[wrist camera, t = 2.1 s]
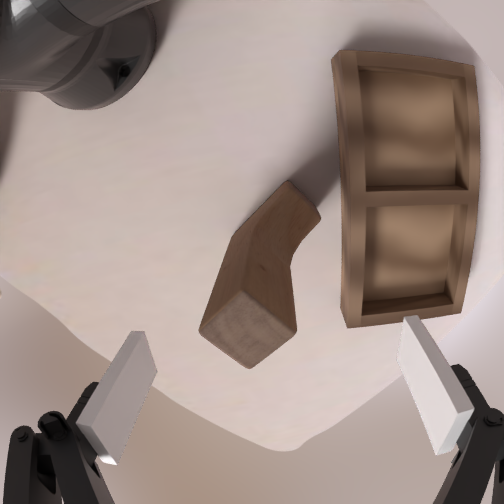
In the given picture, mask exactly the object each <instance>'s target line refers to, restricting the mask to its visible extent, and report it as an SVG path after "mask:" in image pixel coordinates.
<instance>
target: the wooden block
mask: <svg viewBox="0 0 504 504" xmlns="http://www.w3.org/2000/svg"><path fill="white" fill-rule="evenodd" d="M320 220H321V216H320V214H319V212H318V210H317V208H316V207H315V205H314V204H313V203H312V202H311V201H309V200H308V199H307V198H306V197H305V196H304V195H303V194H302V193H301V192H300V191H299V190H298V189H297V188H296V187H295V186H294V185H293V184H292V183H291V182H289V181H286V182H284V183H283V184H282V185H281V186H280V187H279V188H278V189H277V190H276V191H275V192H274V193H273V194H272V195H271V196H270V197H269V198H268V200H267V201H266V202H265V203H264V204H263V205H262V206H261V207H260V208H259V209H258V210H257V211H256V212H255V213H254V214H253V215H252V216H251V217H250V218H249V219H248V220H247V221H246V222H245V223H244V224H243V225H242V226H241V227H240V228H239V229H238V230H237V232H236V233H235V234H234V235H233V236H232V237H231V240H230V243H229V245H228V248H227V251H226V253H225V256H224V259H223V262H222V265H221V268H220V271H219V273H218V276H217V279H216V282H215V285H214V287H213V290H212V293H211V296H210V299H209V301H208V304H207V307H206V310H205V313H204V316H203V319H202V321H201V324H200V327H199V333H200V334H201V336H203V337H204V338H205V339H207V340H208V341H209V342H211V343H212V344H213V345H215V346H216V347H217V348H219V349H220V350H221V351H223V352H224V353H226V354H227V355H228V356H230V357H231V358H232V359H234V360H235V361H237V362H238V363H239V364H241V365H242V366H244V367H245V368H248V369H251V368H253V367H254V366H256V365H257V364H258V363H260V362H261V361H262V360H264V359H265V358H266V357H267V356H269V355H270V354H271V353H273V352H274V351H275V350H277V349H278V348H279V347H280V346H282V345H283V344H284V343H285V342H287V341H288V340H289V339H291V338H292V337H293V336H294V335H295V333H296V332H297V324H296V315H295V305H294V296H293V287H292V278H291V270H290V265H291V261H292V257H293V254H294V252H295V251H296V249H297V248H298V246H299V244H300V243H301V241H302V240H303V239H304V238H305V237H306V236H307V235H308V234H309V232H310V231H311V230H312V229H313V228H314V227H315V226H316V225H317V224H318V223H319V222H320Z"/></svg>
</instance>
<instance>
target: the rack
mask: <svg viewBox="0 0 504 504" xmlns="http://www.w3.org/2000/svg"><path fill="white" fill-rule="evenodd" d="M331 64H332V72H333V81H334V91H335V102H336V113H337V126H338V140H339V157H340V178H341V212H342V272H341V306H340V308H341V311H342V314H343V317H344V320H345V323H346V326H347V328H357V327H366V326H375V325H384V324H392V323H399V322H403V320H404V317H407V316H415V315H418V317H419V318H420V320H421V319H428V318H434V317H441V316H447V315H453V314H459V313H461V311H462V306H463V302H464V297H465V293H466V288H467V283H468V277H469V272H470V266H471V260H472V253H473V247H474V239H475V231H476V222H477V211H478V198H479V180H480V125H479V107H478V95H477V85H476V76H475V68H474V66H473V65H468V64H463V63H458V62H453V61H448V60H442V59H436V58H429V57H422V56H415V55H407V54H398V53H387V52H374V51H356V50H339V51H338V52H337V54H336V55H335V56H334V57H333V58H332V59H331Z"/></svg>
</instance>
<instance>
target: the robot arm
mask: <svg viewBox="0 0 504 504" xmlns="http://www.w3.org/2000/svg"><path fill="white" fill-rule="evenodd" d="M157 1H159V0H0V91H30V92H40V93H41V94H43V95H44V96H46V97H47V98H49V99H51V100H52V101H53V102H54V103H56V104H57V105H59V106H62V107H64V108H68V109H73V110H93V109H98V108H102V107H105V106H107V105H109V104H111V103H113V102H115V101H117V100H118V99H120V98H121V97H123V96H124V95H125V94H126V93H127V92H129V91H130V90H131V89H132V88H133V87H134V86H135V84H136V83H137V82H138V81H139V80H140V78H141V77H142V75H143V74H144V72H145V70H146V69H147V67H148V65H149V63H150V60H151V58H152V55H153V52H154V48H155V43H156V26H155V21H154V18H153V16H152V14H151V12H150V10H149V9H148V7H147V5H150V4H152V3H154V2H157ZM396 360H397V362H398V364H399V366H400V369H401V371H402V373H403V375H404V378H405V380H406V382H407V385H408V387H409V389H410V391H411V394H412V396H413V398H414V401H415V403H416V406H417V408H418V411H419V413H420V416H421V418H422V420H423V423H424V425H425V428H426V431H427V433H428V436H429V438H430V441H431V444H432V446H433V449H434V451H435V454H436V455H439V454H443V453H446V452H449V451H452V449H453V448H454V446H455V444H456V443H457V445H458V448H459V451H458V452H457V454H456V456H455V457H454V459H453V460H452V462H451V463H453V464H452V466H451V468H450V471H449V472H448V475H447V477H446V479H445V481H444V483H443V485H442V487H441V489H440V491H439V493H438V495H437V497H436V499H435V501H434V502H433V504H480V503H481V500H482V498H483V495H484V493H485V490H486V487H487V484H488V481H489V479H490V476H491V473H492V470H493V467H494V464H495V476H494V488H493V496H492V504H504V414H503V413H502V412H501V411H499V410H497V409H495V408H490V407H489V405H488V404H487V402H486V400H485V399H484V397H483V395H482V394H481V392H480V390H479V389H478V387H477V386H476V384H475V382H474V381H473V380H472V377H471V376H470V374H469V373H468V371H467V370H466V369H465V368H463V367H462V366H461V365H459V364H457V365H452V366H450V365H449V364H448V362H447V360H446V359H445V357H444V356H443V354H442V352H441V351H440V349H439V347H438V346H437V344H436V343H435V341H434V340H433V338H432V336H431V335H430V333H429V332H428V330H427V329H426V327H425V326H424V324H423V323H422V321H421V320H420V318H419V317H418V315H415V316H407V317H404V320H403V326H402V332H401V338H400V343H399V348H398V354H397V359H396ZM156 373H157V369H156V366H155V363H154V360H153V357H152V354H151V351H150V348H149V345H148V341H147V338H146V335H145V332H144V331H131V333H130V334H129V336H128V337H127V339H126V340H125V342H124V344H123V345H122V347H121V348H120V350H119V352H118V353H117V355H116V356H115V358H114V360H113V361H112V363H111V364H110V366H109V368H108V369H107V371H106V373H105V374H104V376H103V377H102V379H101V381H100V382H92V383H91V384H90V385H89V386H88V387H87V388H85V390H84V392H83V393H82V395H81V397H80V398H79V400H78V401H77V403H76V405H75V406H74V408H73V409H72V411H71V413H70V414H69V416H68V418H67V419H65V418H64V416H63V415H62V414H61V413H60V412H57V411H51V412H48V413H46V414H44V415H43V416H42V417H41V418H40V419H39V421H38V428H39V429H40V430H41V432H42V433H34V431H33V430H32V429H31V427H29V426H20V427H18V428H16V429H15V430H14V431H13V433H12V435H11V438H10V444H9V451H8V458H7V466H6V473H5V483H4V496H3V504H62V498H63V501H64V504H115V503H114V501H113V499H112V497H111V494H110V492H109V490H108V488H107V486H106V484H105V481H104V479H103V477H102V474H101V472H100V470H99V467H98V465H97V463H96V462H95V459H96V457H97V455H98V456H99V457H100V459H101V460H102V462H105V463H109V464H114V465H118V463H119V460H120V458H121V456H122V453H123V451H124V448H125V446H126V443H127V441H128V439H129V436H130V434H131V431H132V429H133V427H134V424H135V422H136V420H137V417H138V414H139V412H140V410H141V408H142V405H143V403H144V401H145V398H146V396H147V394H148V392H149V389H150V387H151V385H152V382H153V380H154V378H155V375H156Z"/></svg>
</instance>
